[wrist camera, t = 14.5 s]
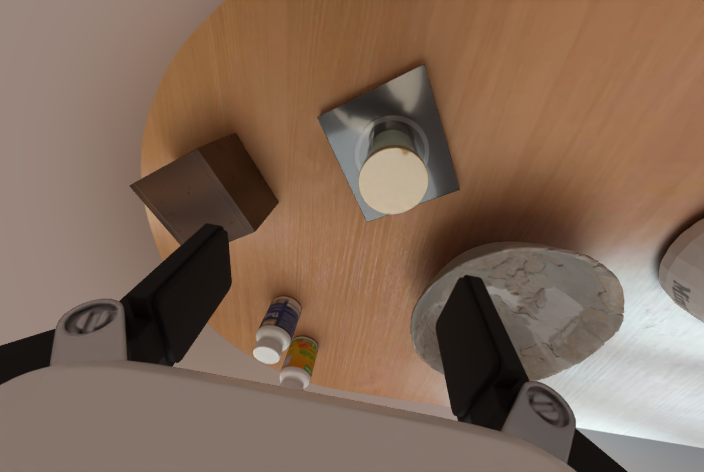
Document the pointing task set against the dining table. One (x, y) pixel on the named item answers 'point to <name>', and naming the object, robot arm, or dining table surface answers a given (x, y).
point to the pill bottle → (276, 329)
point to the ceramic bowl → (530, 303)
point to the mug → (686, 270)
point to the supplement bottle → (299, 363)
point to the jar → (392, 174)
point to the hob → (392, 114)
